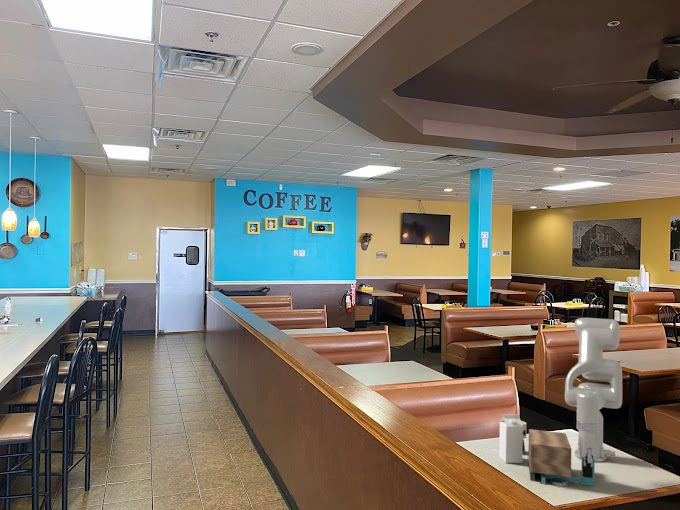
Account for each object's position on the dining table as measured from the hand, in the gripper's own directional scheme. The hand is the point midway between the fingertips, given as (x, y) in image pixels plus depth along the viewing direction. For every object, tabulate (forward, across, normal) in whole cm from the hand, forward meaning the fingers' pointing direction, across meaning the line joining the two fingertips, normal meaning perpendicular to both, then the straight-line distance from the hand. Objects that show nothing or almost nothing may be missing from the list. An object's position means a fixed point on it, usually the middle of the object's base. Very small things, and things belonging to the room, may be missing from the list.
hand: (586, 474), depth 194 cm
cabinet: (+3, -4, -13) cm, 14 cm away
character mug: (+3, -27, -24) cm, 36 cm away
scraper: (+3, 0, -7) cm, 8 cm away
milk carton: (+3, -15, -27) cm, 31 cm away
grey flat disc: (+3, +4, -10) cm, 11 cm away
